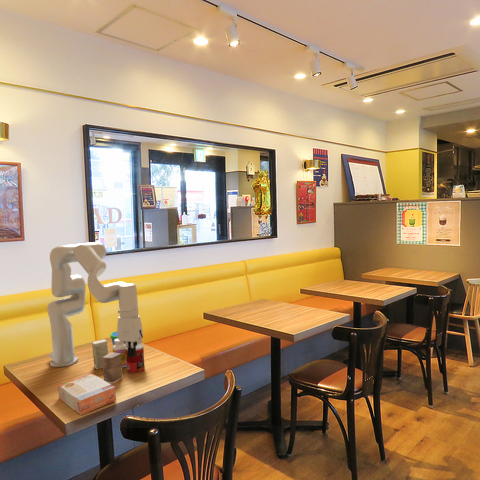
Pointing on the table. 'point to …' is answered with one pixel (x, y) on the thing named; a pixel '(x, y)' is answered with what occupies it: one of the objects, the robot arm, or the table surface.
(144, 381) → the table surface
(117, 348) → the supplement bottle
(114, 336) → the snack cup
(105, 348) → the skincare box
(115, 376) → the walnut block
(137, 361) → the canned food
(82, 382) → the cracker box
